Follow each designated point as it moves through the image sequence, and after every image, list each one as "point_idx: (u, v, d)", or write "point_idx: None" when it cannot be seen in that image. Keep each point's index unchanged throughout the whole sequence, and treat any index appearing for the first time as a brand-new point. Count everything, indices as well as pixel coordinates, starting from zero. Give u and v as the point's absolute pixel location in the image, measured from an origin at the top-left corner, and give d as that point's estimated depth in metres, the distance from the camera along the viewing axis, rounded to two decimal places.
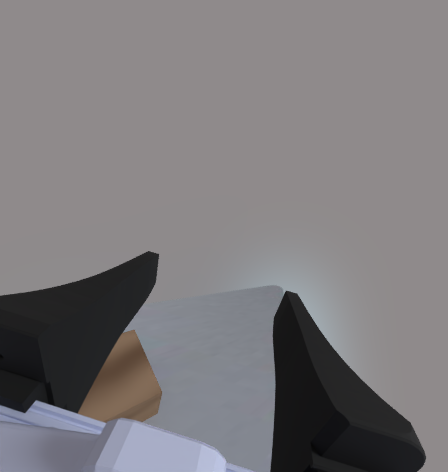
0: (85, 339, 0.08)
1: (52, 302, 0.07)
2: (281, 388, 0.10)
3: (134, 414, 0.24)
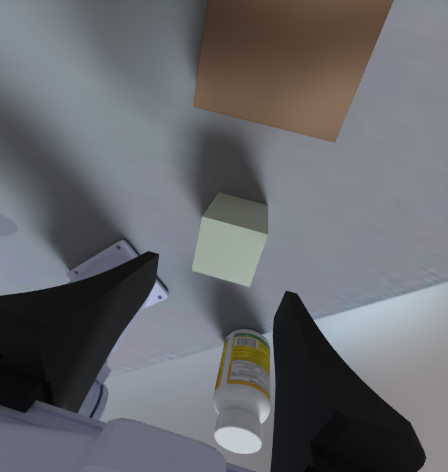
0: (85, 339, 0.08)
1: (52, 302, 0.07)
2: (281, 388, 0.10)
3: None
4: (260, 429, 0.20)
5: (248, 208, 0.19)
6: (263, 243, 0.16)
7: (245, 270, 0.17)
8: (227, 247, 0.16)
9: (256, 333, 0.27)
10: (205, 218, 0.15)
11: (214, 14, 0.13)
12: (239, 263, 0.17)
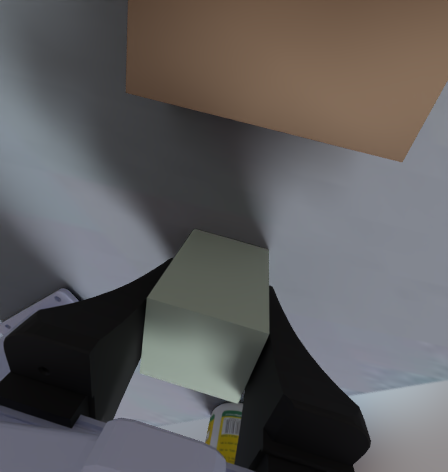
0: (122, 351, 0.08)
1: (93, 314, 0.07)
2: (250, 378, 0.10)
3: None
4: None
5: (237, 261, 0.12)
6: (260, 346, 0.08)
7: (230, 382, 0.10)
8: (196, 346, 0.09)
9: None
10: (153, 301, 0.08)
11: None
12: (219, 371, 0.09)
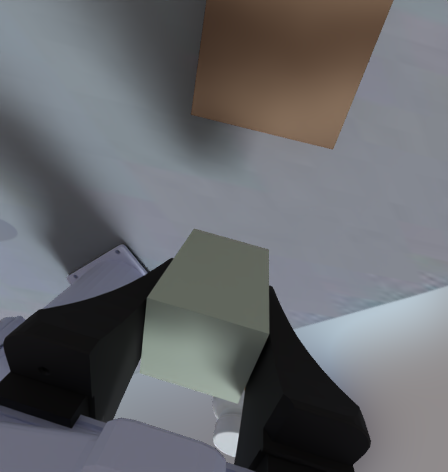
0: (122, 350, 0.08)
1: (93, 314, 0.07)
2: (250, 378, 0.10)
3: None
4: None
5: (237, 261, 0.12)
6: (260, 346, 0.08)
7: (229, 382, 0.10)
8: (196, 346, 0.09)
9: None
10: (153, 301, 0.08)
11: (211, 23, 0.13)
12: (219, 371, 0.09)
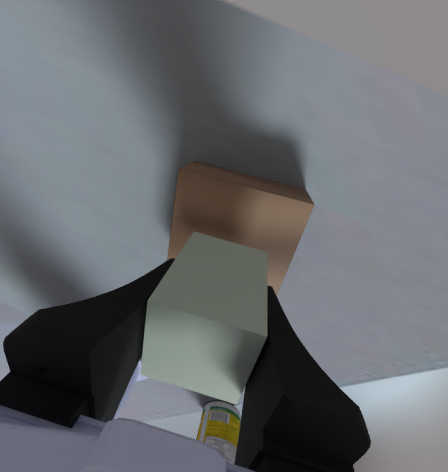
0: (122, 351, 0.08)
1: (93, 314, 0.07)
2: (250, 378, 0.10)
3: None
4: None
5: (236, 264, 0.12)
6: (259, 348, 0.09)
7: (229, 383, 0.10)
8: (196, 348, 0.09)
9: (228, 406, 0.31)
10: (153, 304, 0.09)
11: (176, 231, 0.18)
12: (218, 373, 0.10)
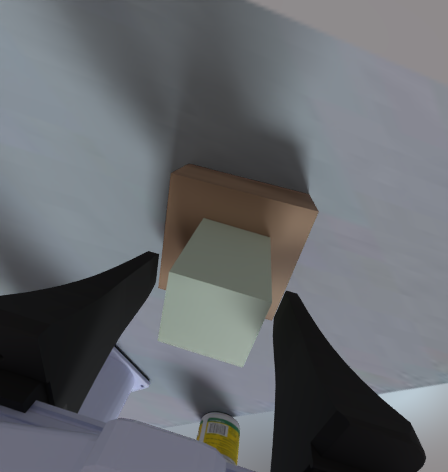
0: (85, 339, 0.08)
1: (52, 302, 0.07)
2: (281, 388, 0.10)
3: None
4: None
5: (243, 246, 0.13)
6: (264, 314, 0.10)
7: (237, 347, 0.11)
8: (209, 315, 0.11)
9: (227, 417, 0.30)
10: (174, 274, 0.10)
11: (170, 238, 0.16)
12: (228, 337, 0.11)
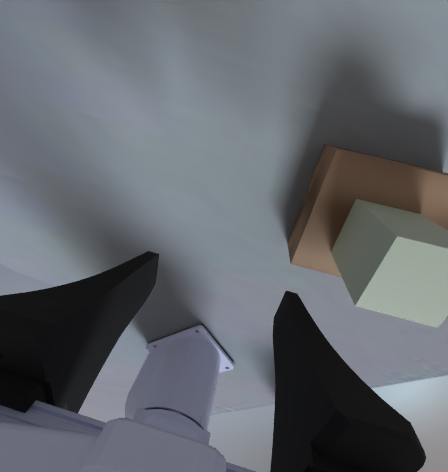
0: (85, 339, 0.08)
1: (52, 302, 0.07)
2: (281, 388, 0.10)
3: None
4: None
5: (414, 220, 0.14)
6: None
7: (439, 307, 0.12)
8: (422, 276, 0.12)
9: None
10: (401, 239, 0.11)
11: (317, 214, 0.17)
12: (433, 298, 0.12)
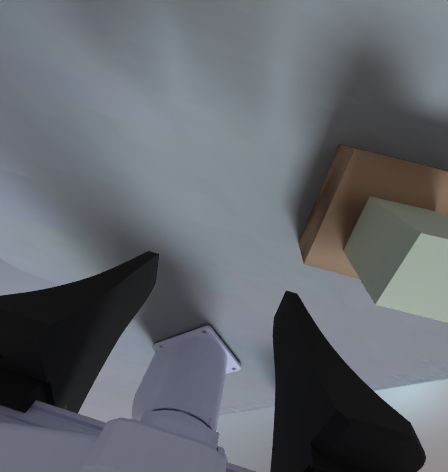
0: (85, 339, 0.08)
1: (52, 302, 0.07)
2: (281, 388, 0.10)
3: None
4: None
5: (431, 217, 0.14)
6: None
7: None
8: (445, 273, 0.12)
9: None
10: (424, 235, 0.11)
11: (332, 214, 0.17)
12: None
